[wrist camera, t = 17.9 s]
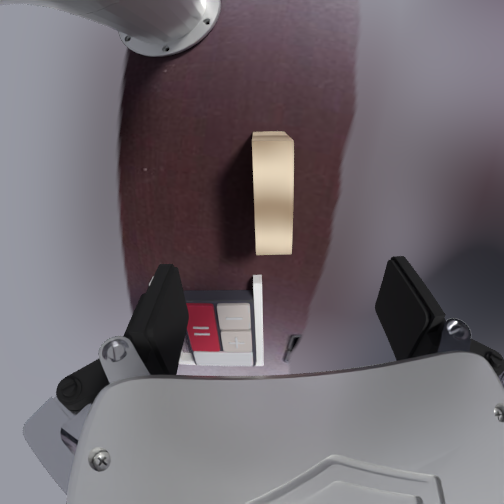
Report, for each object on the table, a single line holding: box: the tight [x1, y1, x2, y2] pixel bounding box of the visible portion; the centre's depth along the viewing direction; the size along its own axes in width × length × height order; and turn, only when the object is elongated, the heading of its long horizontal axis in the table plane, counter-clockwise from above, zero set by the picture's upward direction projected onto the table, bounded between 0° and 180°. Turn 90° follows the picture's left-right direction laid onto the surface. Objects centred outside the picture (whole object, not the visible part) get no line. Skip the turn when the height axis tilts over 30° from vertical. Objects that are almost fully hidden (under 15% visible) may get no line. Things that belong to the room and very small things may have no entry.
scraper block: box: [252, 132, 294, 255], centre depth 28 cm, size 11×4×9 cm, turn 2°
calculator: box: [183, 290, 256, 366], centre depth 43 cm, size 11×4×15 cm
